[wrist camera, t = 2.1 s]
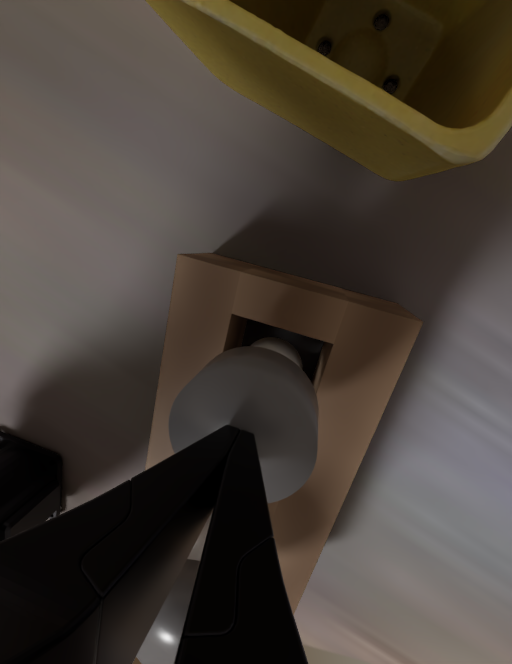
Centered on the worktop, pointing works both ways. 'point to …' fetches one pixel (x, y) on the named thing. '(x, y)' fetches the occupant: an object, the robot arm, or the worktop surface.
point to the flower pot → (366, 72)
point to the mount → (328, 379)
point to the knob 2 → (255, 410)
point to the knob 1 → (173, 611)
